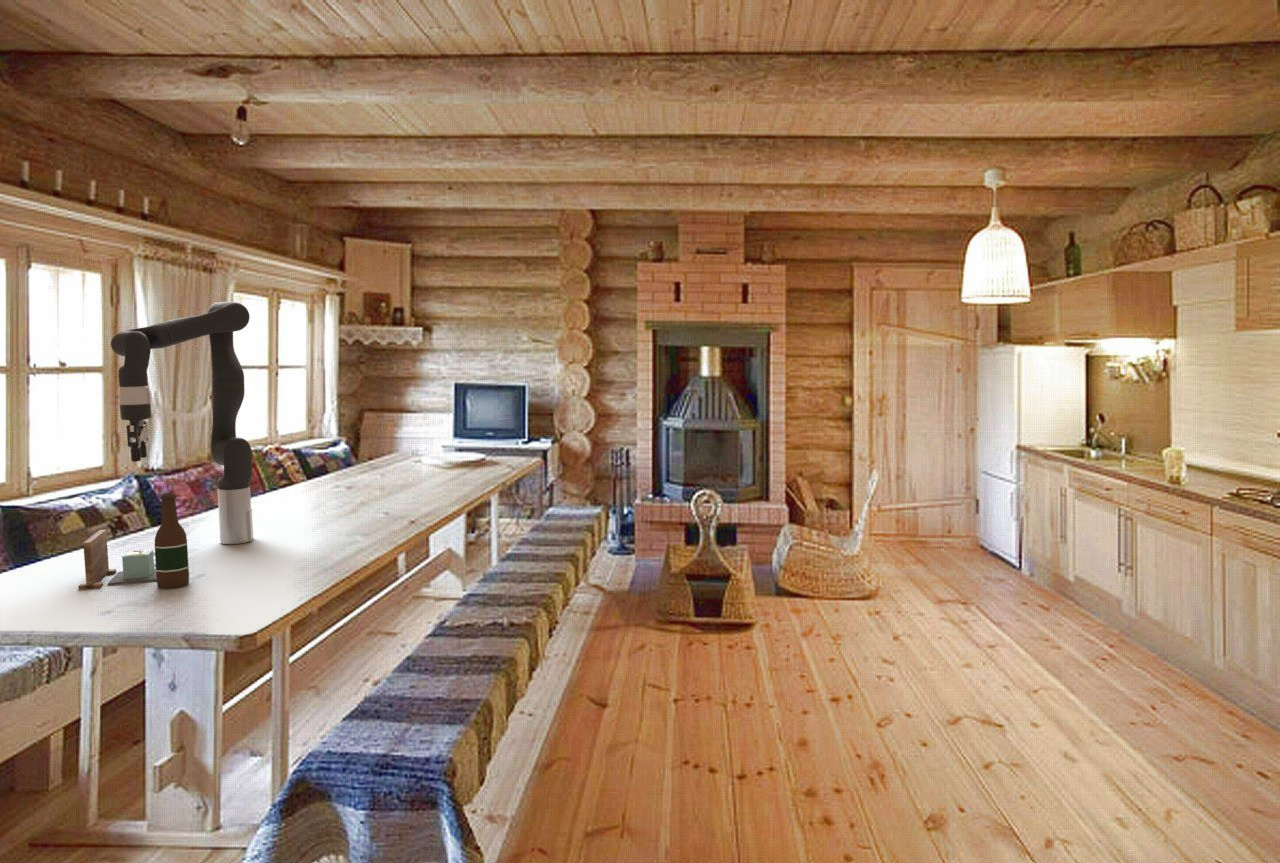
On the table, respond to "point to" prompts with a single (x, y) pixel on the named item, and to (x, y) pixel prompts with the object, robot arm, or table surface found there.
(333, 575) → the table surface
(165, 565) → the beer bottle
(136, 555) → the letter cube
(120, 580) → the mat
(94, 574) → the wooden footed board
